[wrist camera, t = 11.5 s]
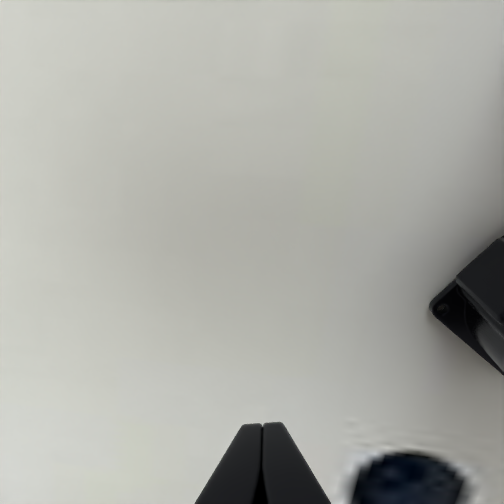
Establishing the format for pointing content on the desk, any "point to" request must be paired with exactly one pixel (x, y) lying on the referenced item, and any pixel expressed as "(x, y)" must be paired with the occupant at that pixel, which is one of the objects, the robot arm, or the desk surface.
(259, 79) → the desk surface
